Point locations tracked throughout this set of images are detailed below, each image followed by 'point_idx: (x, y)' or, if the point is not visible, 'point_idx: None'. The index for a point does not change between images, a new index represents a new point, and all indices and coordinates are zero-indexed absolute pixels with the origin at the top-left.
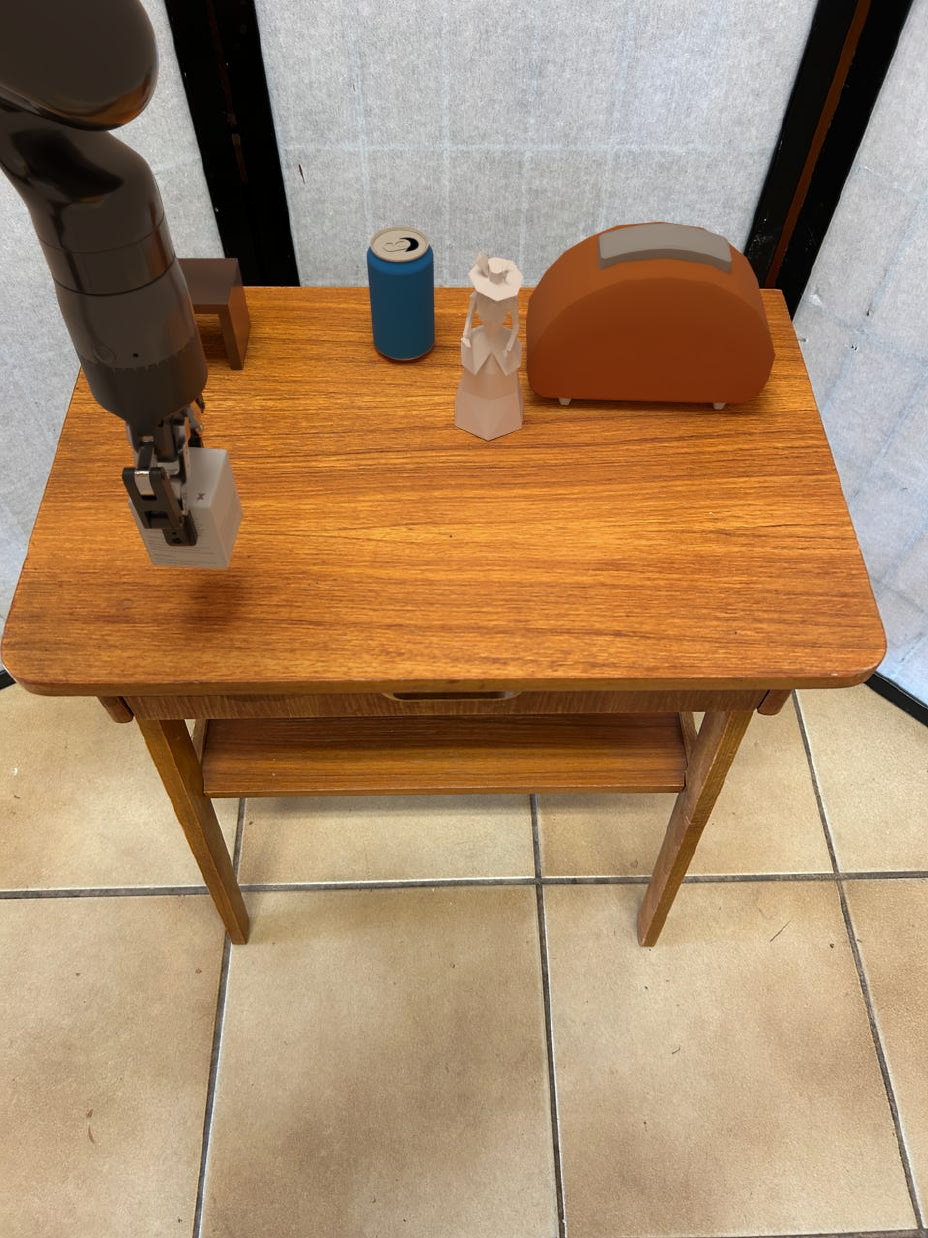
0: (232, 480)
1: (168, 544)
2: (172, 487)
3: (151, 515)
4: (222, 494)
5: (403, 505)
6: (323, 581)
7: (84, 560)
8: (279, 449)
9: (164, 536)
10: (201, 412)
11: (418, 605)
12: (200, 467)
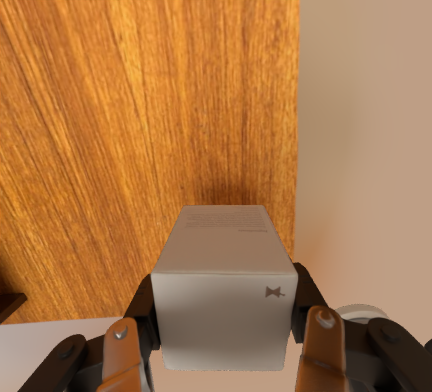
0: (179, 236)
1: None
2: (254, 331)
3: (396, 387)
4: (231, 250)
5: (91, 51)
6: (199, 120)
7: None
8: (63, 186)
9: None
10: (85, 345)
11: (217, 11)
12: (203, 303)
